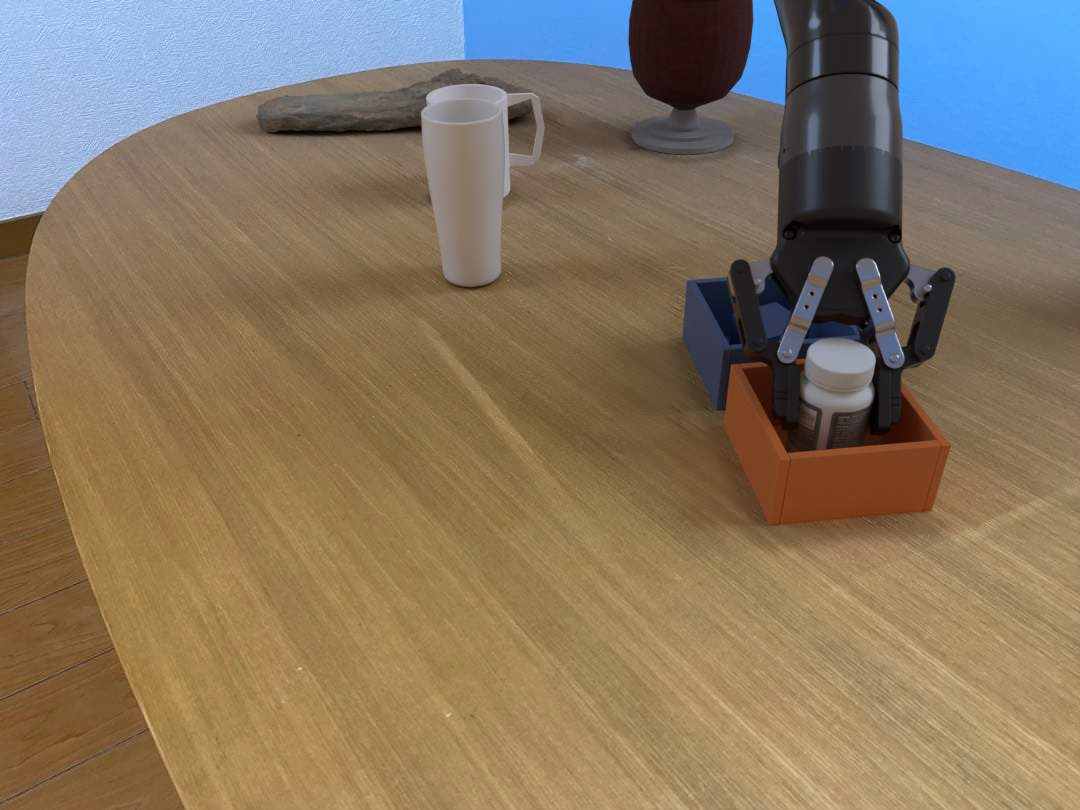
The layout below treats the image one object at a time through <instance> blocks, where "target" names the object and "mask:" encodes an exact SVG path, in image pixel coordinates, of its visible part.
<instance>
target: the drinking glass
mask: <svg viewBox="0 0 1080 810" xmlns="http://www.w3.org/2000/svg"><path fill="white" fill-rule="evenodd" d="M420 127H421V142H422V143H421V144H422V152H423V160H424V161H423V162H424V168H425V173H426V180H427V185H428V190H429V195H430V202H431V207H432V212H433V217H434V223H435V229H436V235H437V241H438V246H439V252H440V258H441V270H442V275H443V277H444V278H445V280H446V281H448V283H450V284H453V285H455V286H457V287H463V288H477V287H483V286H486V285H489V284H491V283H493V282H495V281H496V280H498V278H499V277H500V275H501V274H502V271H503V270H502V269H503V265H502V264H503V263H502V262H503V261H502V237H503V213H504V211H503V210H504V197H503V194H504V173H505V139H504V125H503V115H502V108H501V107H500V106H499V105H498V104H496V103H494V102H491V101H488V100H483V99H474V98H458V99H449V100H443V101H439V102H436V103H433V104H430V105H428V106H427V107H425V108H424V109H423V110H422V112H421V126H420Z"/></svg>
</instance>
